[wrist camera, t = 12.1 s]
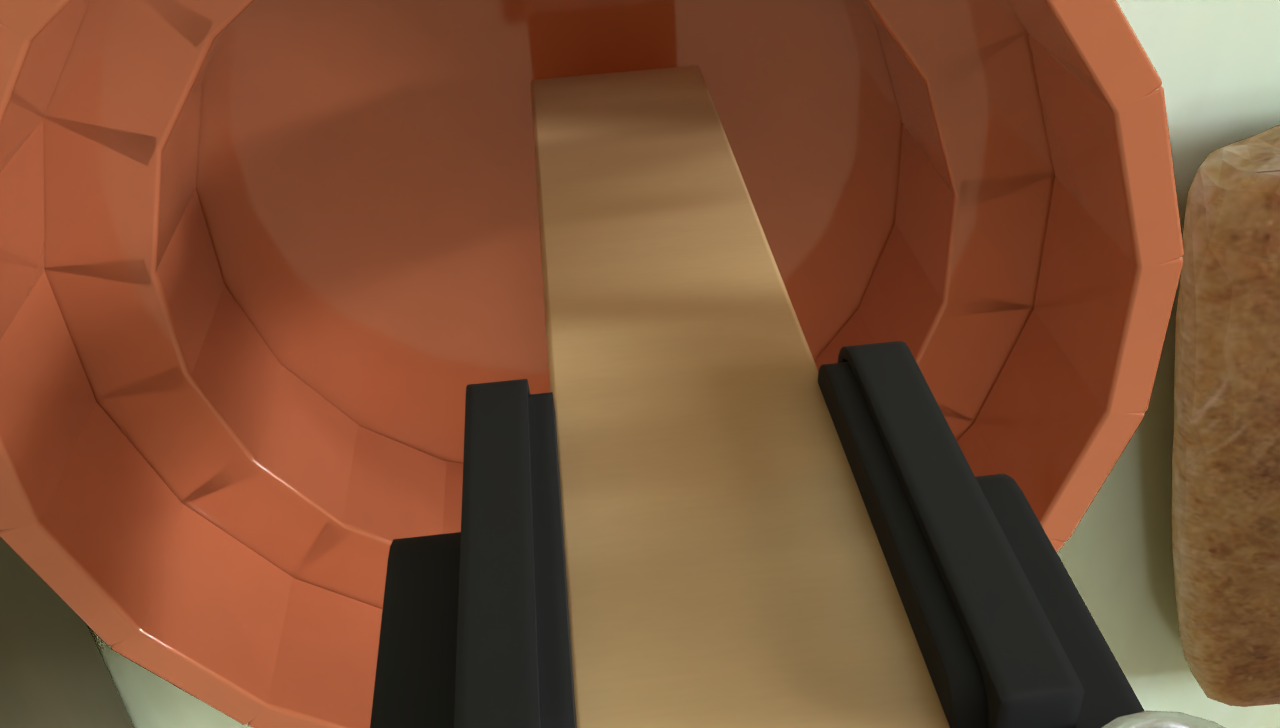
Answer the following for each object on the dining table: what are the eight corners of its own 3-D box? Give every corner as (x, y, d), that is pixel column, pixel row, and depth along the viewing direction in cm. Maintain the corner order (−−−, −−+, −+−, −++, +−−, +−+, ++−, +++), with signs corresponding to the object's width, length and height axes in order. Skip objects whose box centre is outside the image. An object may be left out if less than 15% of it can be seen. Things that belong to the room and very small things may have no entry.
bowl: (215, 564, 24) (141, 830, 19) (-95, -301, 15) (-387, -227, 10) (958, 485, 24) (1073, 721, 19) (1074, -382, 16) (1334, -349, 11)
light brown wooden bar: (546, 229, 18) (620, 1233, 7) (529, 78, 16) (589, 1042, 6) (703, 214, 18) (1003, 1179, 7) (699, 63, 17) (1061, 981, 6)
